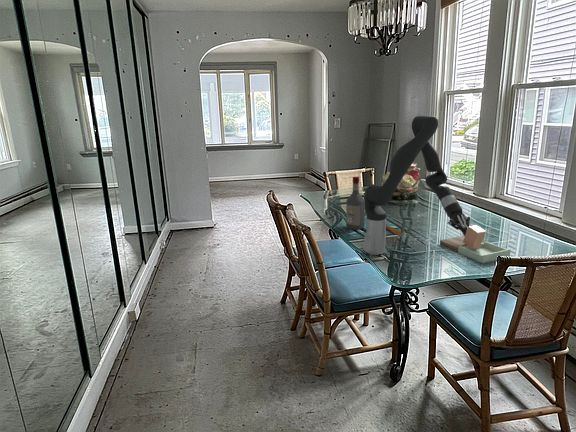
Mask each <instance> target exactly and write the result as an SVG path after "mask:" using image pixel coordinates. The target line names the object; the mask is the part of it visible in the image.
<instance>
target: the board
mask: <svg viewBox="0 0 576 432" xmlns="http://www.w3.org/2000/svg"><path fill="white" fill-rule="evenodd" d="M464 237H465V236H464V235H461V236H455V237H449V238H445V239H440V240H439V246H441V247H443V248H446V249H448V250H450V251H453V252H455V253H457V254H459V253H458V248H459V246H461V247H465V246H468V245H466V244H465V243H463V240H464ZM482 243H484V242H483V241H482Z"/></svg>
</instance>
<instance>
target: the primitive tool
mask: <svg viewBox="0 0 576 432" xmlns="http://www.w3.org/2000/svg"><path fill="white" fill-rule="evenodd" d="M386 231H388V232H389V233H391V234H393V235H394V236H399V235H404V233H403V231H400V230H398V229H396V228H395V227H392V226H389V225H387V224H386Z"/></svg>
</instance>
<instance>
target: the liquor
mask: <svg viewBox="0 0 576 432" xmlns="http://www.w3.org/2000/svg"><path fill="white" fill-rule="evenodd" d="M345 206H346V207H345V209H346V213H345V214H346V216H345V218H346V220H345V222H346V223H345V224H346V228H347V229H349V230H354V231H359V230H358V229H360V230H362V229H363V228H365V224H366V222H365V220H366V219H365V216H366V215H365V214H366V212H365V197H363V196H362V195H361V194H360V177H359V176H352V192H351V194H350V196H348V197H347V199H346V205H345ZM361 228H362V229H361Z"/></svg>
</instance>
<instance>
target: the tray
mask: <svg viewBox="0 0 576 432" xmlns="http://www.w3.org/2000/svg"><path fill="white" fill-rule="evenodd" d="M457 254H459V255H462V256H464V257H467V258H469V259H471V260H473V261H476V262H477V263H480V264H482V265H484V264H488V263H493V262H497V261H496V258H497V256H510V257H511V249H507V248H505V247H502V246H499V245H497V244H494V243H491V242H489V241H487V240H486V241H485V240H484V242H483V243H481V246H480V247H478V248H473V249H472V248H470V247H469V246H465V247H461V246H459V248H458V253H457Z"/></svg>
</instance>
